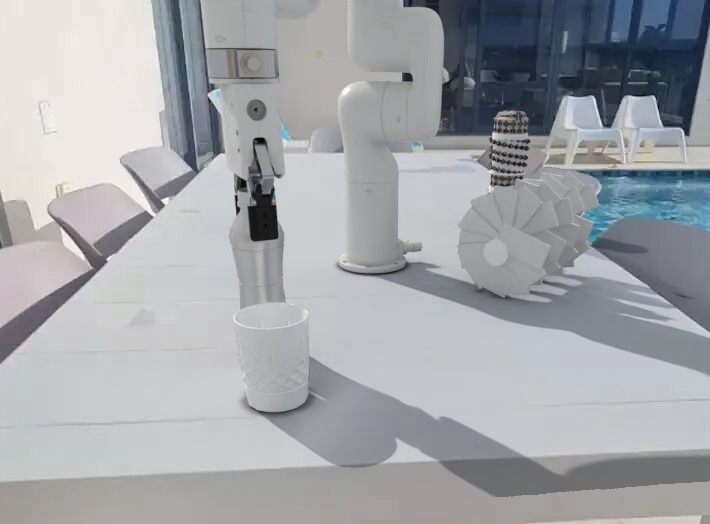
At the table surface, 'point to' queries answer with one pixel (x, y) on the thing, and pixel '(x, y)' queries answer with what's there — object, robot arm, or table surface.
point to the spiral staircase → (525, 232)
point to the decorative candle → (508, 148)
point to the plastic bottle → (256, 260)
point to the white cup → (274, 355)
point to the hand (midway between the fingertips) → (257, 231)
